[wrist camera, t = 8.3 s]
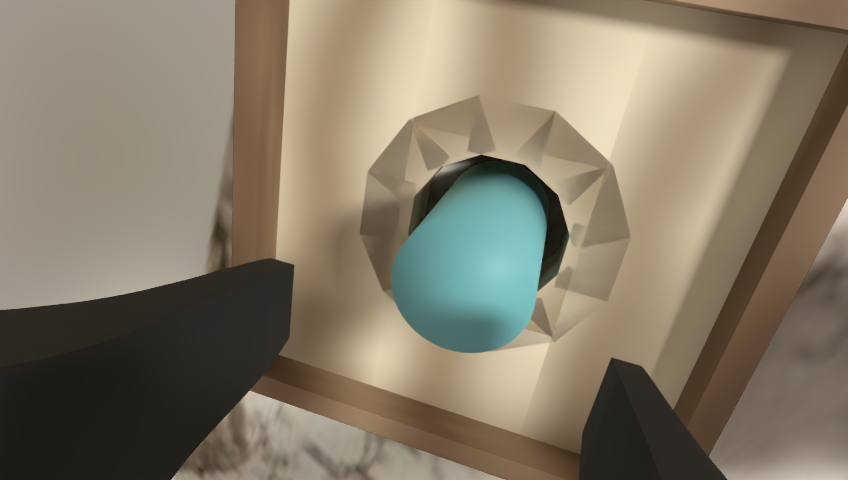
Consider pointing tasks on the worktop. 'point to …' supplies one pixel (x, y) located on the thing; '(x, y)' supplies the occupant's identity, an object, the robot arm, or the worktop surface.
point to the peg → (475, 260)
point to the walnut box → (565, 174)
